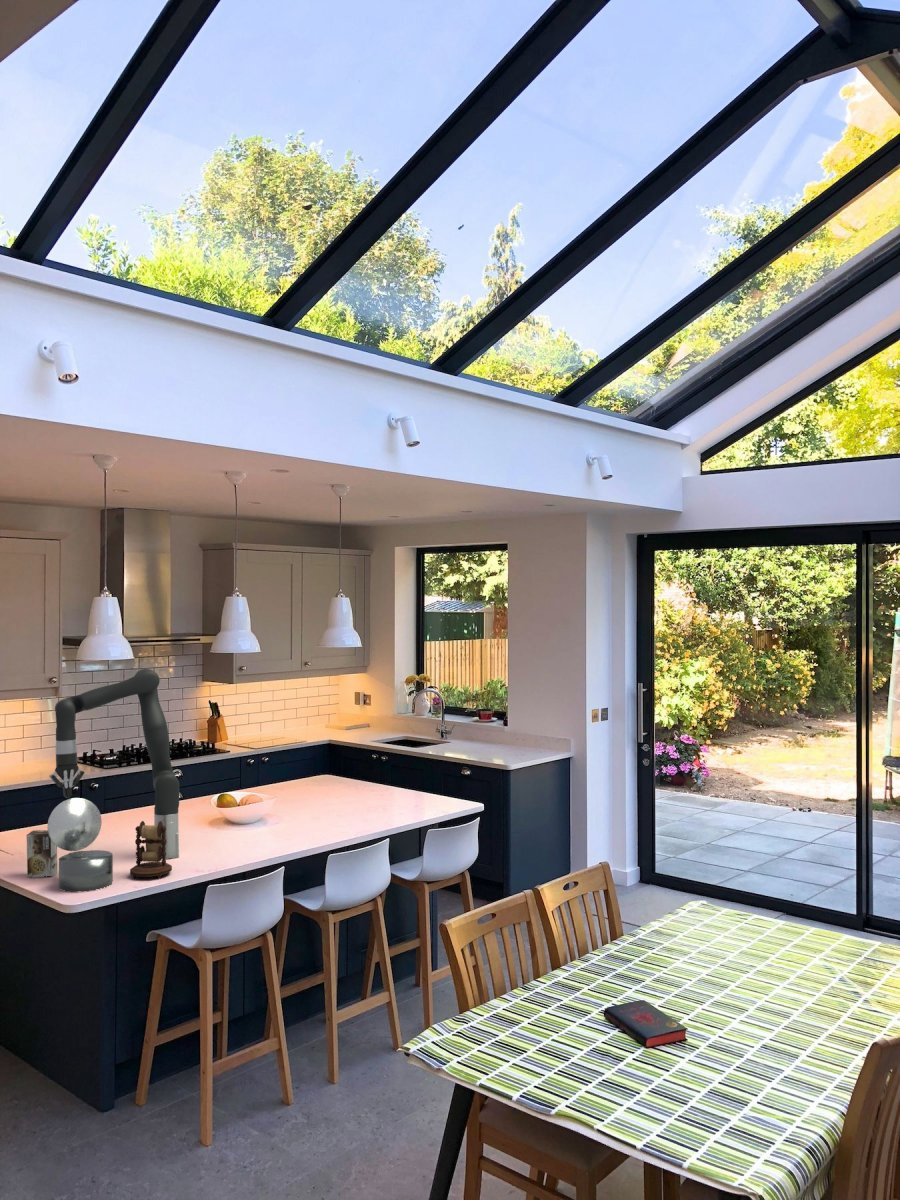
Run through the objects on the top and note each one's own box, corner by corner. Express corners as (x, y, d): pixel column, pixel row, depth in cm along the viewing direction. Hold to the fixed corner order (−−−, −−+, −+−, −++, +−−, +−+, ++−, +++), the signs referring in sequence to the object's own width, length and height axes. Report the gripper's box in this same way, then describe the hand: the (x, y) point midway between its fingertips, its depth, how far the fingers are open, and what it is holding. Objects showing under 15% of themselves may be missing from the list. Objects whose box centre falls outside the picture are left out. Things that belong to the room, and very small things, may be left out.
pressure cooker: (50, 883, 344) (50, 855, 345) (100, 873, 356) (100, 847, 356) (69, 895, 330) (69, 866, 330) (120, 885, 341) (120, 857, 341)
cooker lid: (49, 855, 344) (47, 854, 346) (102, 846, 356) (99, 845, 358) (47, 801, 345) (45, 801, 347) (100, 794, 357) (97, 794, 360)
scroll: (177, 869, 361) (176, 816, 361) (164, 880, 346) (163, 825, 346) (138, 869, 362) (138, 816, 362) (123, 880, 347) (123, 825, 347)
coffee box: (58, 872, 359) (57, 829, 359) (51, 877, 352) (51, 833, 352) (33, 873, 358) (33, 829, 358) (26, 877, 352) (26, 833, 352)
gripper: (80, 749, 372) (81, 794, 371) (45, 753, 363) (46, 799, 363) (87, 750, 366) (88, 796, 366) (51, 754, 358) (53, 801, 357)
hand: (67, 797), depth 364 cm, fingers closed
